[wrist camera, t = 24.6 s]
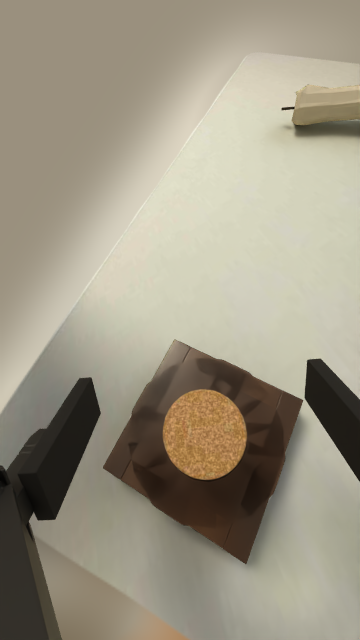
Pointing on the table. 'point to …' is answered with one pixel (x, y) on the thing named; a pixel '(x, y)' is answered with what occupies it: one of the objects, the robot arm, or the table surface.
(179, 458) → the bottle
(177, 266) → the table surface
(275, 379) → the table surface
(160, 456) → the socket plate
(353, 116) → the faceted club
